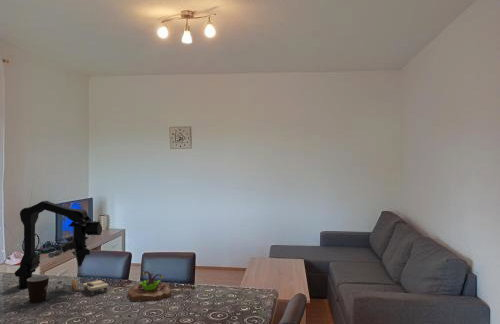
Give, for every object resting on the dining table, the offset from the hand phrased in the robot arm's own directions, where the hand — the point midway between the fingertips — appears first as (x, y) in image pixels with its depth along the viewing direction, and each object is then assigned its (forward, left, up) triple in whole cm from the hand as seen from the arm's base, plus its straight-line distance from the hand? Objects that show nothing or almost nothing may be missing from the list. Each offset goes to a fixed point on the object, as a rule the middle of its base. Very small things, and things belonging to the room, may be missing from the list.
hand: (79, 266), depth 183 cm
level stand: (+10, +1, -10) cm, 15 cm away
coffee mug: (+6, -19, -10) cm, 22 cm away
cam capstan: (+3, -8, -10) cm, 13 cm away
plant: (+34, +20, -11) cm, 41 cm away
